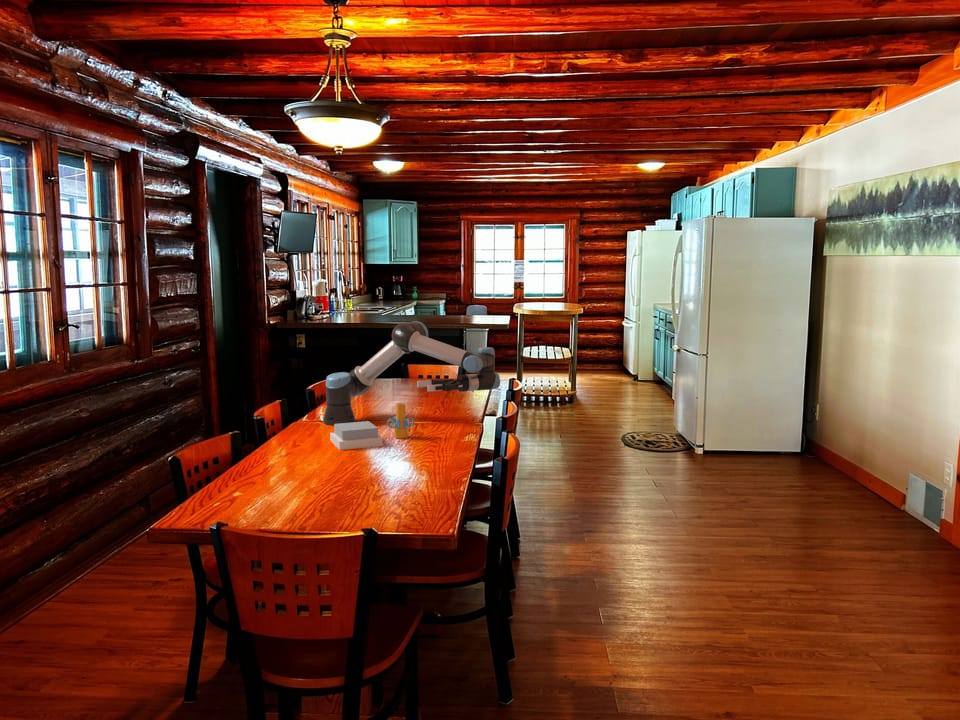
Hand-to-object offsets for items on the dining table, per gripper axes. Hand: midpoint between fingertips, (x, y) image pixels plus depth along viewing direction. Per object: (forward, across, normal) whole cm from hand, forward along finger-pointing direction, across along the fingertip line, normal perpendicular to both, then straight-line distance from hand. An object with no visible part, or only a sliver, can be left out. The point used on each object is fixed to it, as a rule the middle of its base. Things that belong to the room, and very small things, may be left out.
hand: (422, 386), depth 318 cm
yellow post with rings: (+10, 0, -22) cm, 24 cm away
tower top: (+31, -2, -18) cm, 36 cm away
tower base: (+31, -3, -22) cm, 38 cm away
